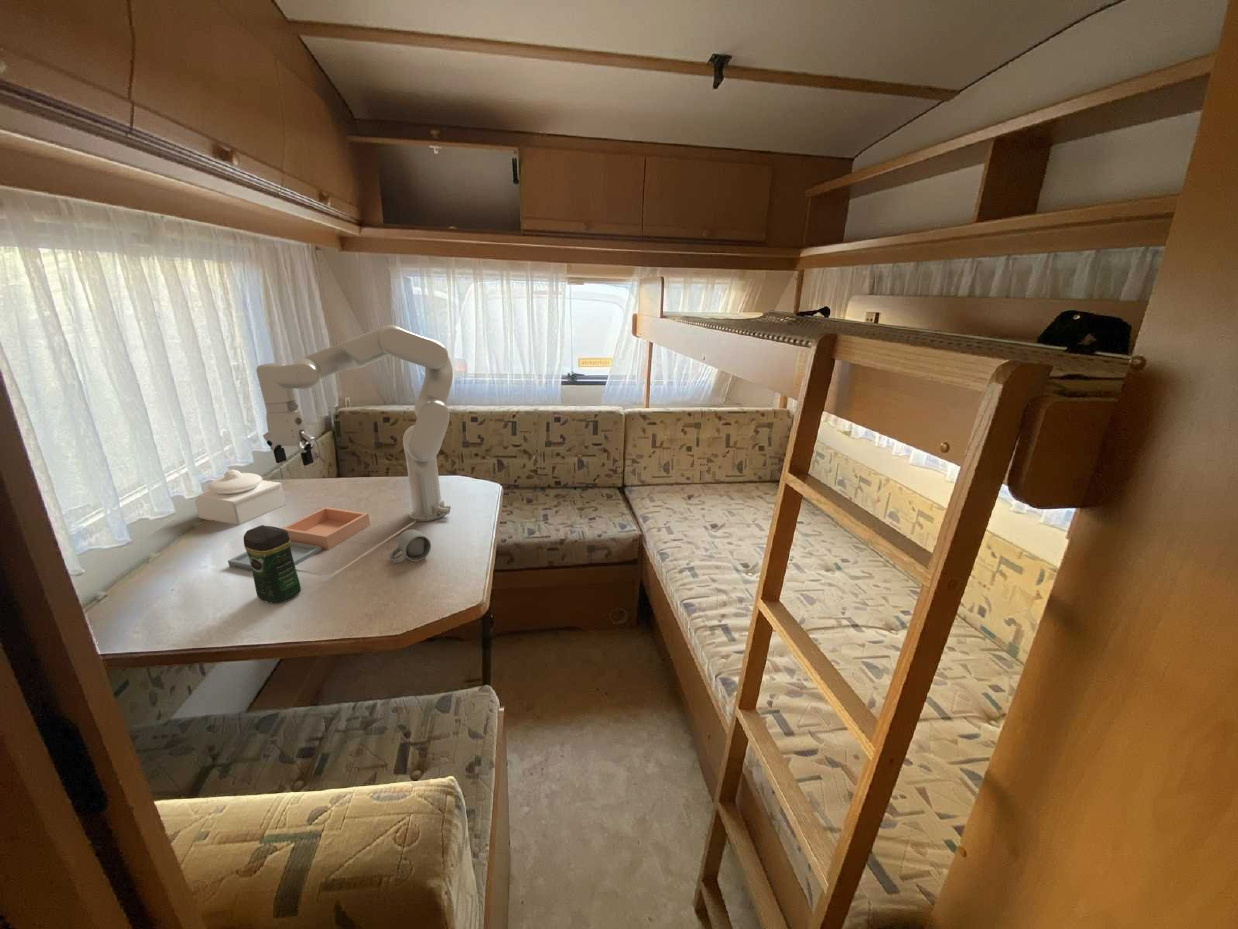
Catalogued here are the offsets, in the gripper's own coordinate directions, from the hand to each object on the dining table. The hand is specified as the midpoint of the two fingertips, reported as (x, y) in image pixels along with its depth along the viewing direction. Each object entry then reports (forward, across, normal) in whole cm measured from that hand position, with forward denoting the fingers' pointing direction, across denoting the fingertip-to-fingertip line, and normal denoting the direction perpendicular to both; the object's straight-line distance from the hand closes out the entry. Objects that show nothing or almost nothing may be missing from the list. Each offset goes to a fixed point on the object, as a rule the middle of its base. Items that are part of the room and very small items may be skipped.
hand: (295, 462), depth 150 cm
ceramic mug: (+25, -38, +4) cm, 46 cm away
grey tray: (+24, -2, +15) cm, 29 cm away
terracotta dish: (+24, -5, -1) cm, 25 cm away
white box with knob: (+24, +36, -9) cm, 44 cm away
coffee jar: (+24, -18, +29) cm, 42 cm away
